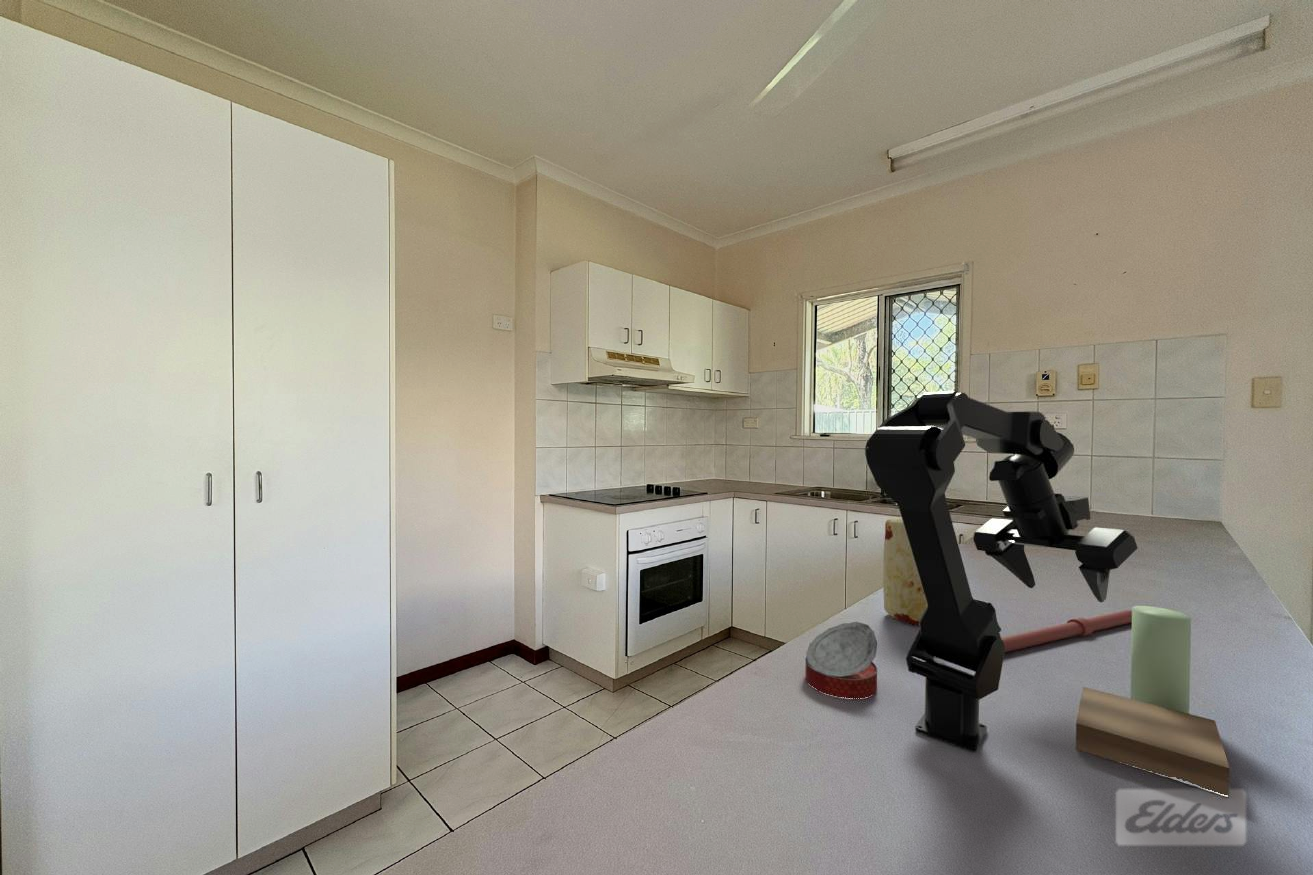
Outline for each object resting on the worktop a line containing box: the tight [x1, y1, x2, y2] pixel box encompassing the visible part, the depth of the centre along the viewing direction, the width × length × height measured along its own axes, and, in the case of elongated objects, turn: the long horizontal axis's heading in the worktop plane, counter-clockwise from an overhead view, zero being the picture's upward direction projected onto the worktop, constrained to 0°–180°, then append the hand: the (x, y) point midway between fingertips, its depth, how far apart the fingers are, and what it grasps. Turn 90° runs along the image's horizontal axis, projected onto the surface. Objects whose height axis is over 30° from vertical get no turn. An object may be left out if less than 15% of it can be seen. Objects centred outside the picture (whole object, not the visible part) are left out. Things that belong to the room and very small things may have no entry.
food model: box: [882, 517, 927, 626], centre depth 102 cm, size 10×7×20 cm
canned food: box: [804, 621, 878, 699], centre depth 76 cm, size 11×10×10 cm
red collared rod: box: [1001, 609, 1132, 653], centre depth 94 cm, size 45×3×3 cm, turn 113°
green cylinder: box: [1129, 605, 1192, 714], centre depth 69 cm, size 6×6×13 cm
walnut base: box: [1075, 686, 1231, 797], centre depth 61 cm, size 12×12×3 cm
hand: (1065, 593), depth 75 cm, fingers open, 9 cm apart
